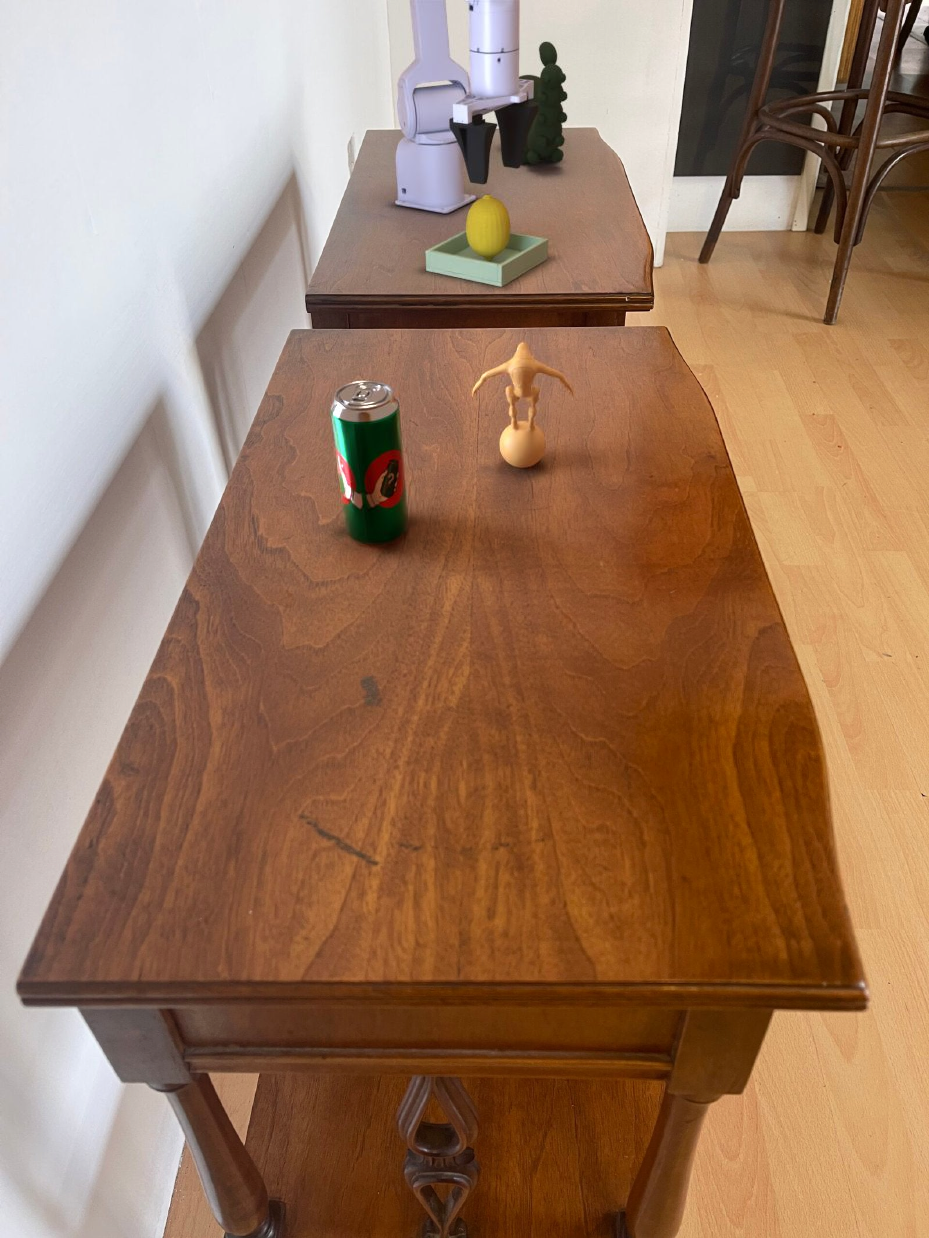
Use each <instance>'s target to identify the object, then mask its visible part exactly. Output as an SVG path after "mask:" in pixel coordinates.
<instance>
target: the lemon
mask: <svg viewBox="0 0 929 1238" xmlns="http://www.w3.org/2000/svg"><path fill="white" fill-rule="evenodd" d="M466 216H467V217H466V220H465V230H466V234H467V240H468V243H469V245H470V247H471V248H472V250H473V251H474V252H475V253H477V254H478V255H480V256H483V257H484V258H485V259H486V260H487V261H491V260H492V259H493V258H494V256H496V255H498V254H500V253H501V252H502V251H503V250H504V249H505V248H506V246H507V244H508V242H509V238H510V232H512V231H511V228H512V226H511V218H510V215H509V211H508V209H507V207H506V205H505V204H504V202H502V201H501V200H500V199H498V198H496V197H494V196H492V194H489V193H487V194H484V195H483V196H482V197H481V198H479V199H476V200H475V201H474V203H472V205H470V208H469V210H468V213H467V215H466Z"/></svg>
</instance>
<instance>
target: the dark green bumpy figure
mask: <svg viewBox="0 0 929 1238" xmlns="http://www.w3.org/2000/svg"><path fill="white" fill-rule="evenodd" d="M538 54H539V59H540V61H541V64H542V65H543V68H542V70H541V72H540V76H537V75H534V74H523V75H519V79H523V80H533V81H534V92H533V98H532V99H528V101H529V102H536V103H538V104H539V111H538V113H537V115H536V116H535V118H534V120H533V123H532V125H531V128H530V130H529V133H528V136H527V140H526V144H525V148H524V152H523V157H522V161H521V164H523V165H526V164H528V163H529V164H530V165H536V164H539V162H542V161H546V160H549V162H554V163H560V162H561V161H563V159H564V151H563V150H562V149H560V147H562V146H564V144H565V141H566V139H565V137H564V135H563V124H565V123H567V121H568V115H567V113H566V112H565V111H564V108H563V104H562V103H563V102H565V101H567V100H568V93H567V91H565V90H564V87H563V85H562V84H563V83H565V82H566V81H567V76H566V73H564V72H563V69H562V68H561V67H560V65H558V64H557V61H558V52H557V49H556V47H555V45H554V44H553V43H552V42H550V41H543V42H541V43H540V45H539V46H538Z"/></svg>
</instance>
